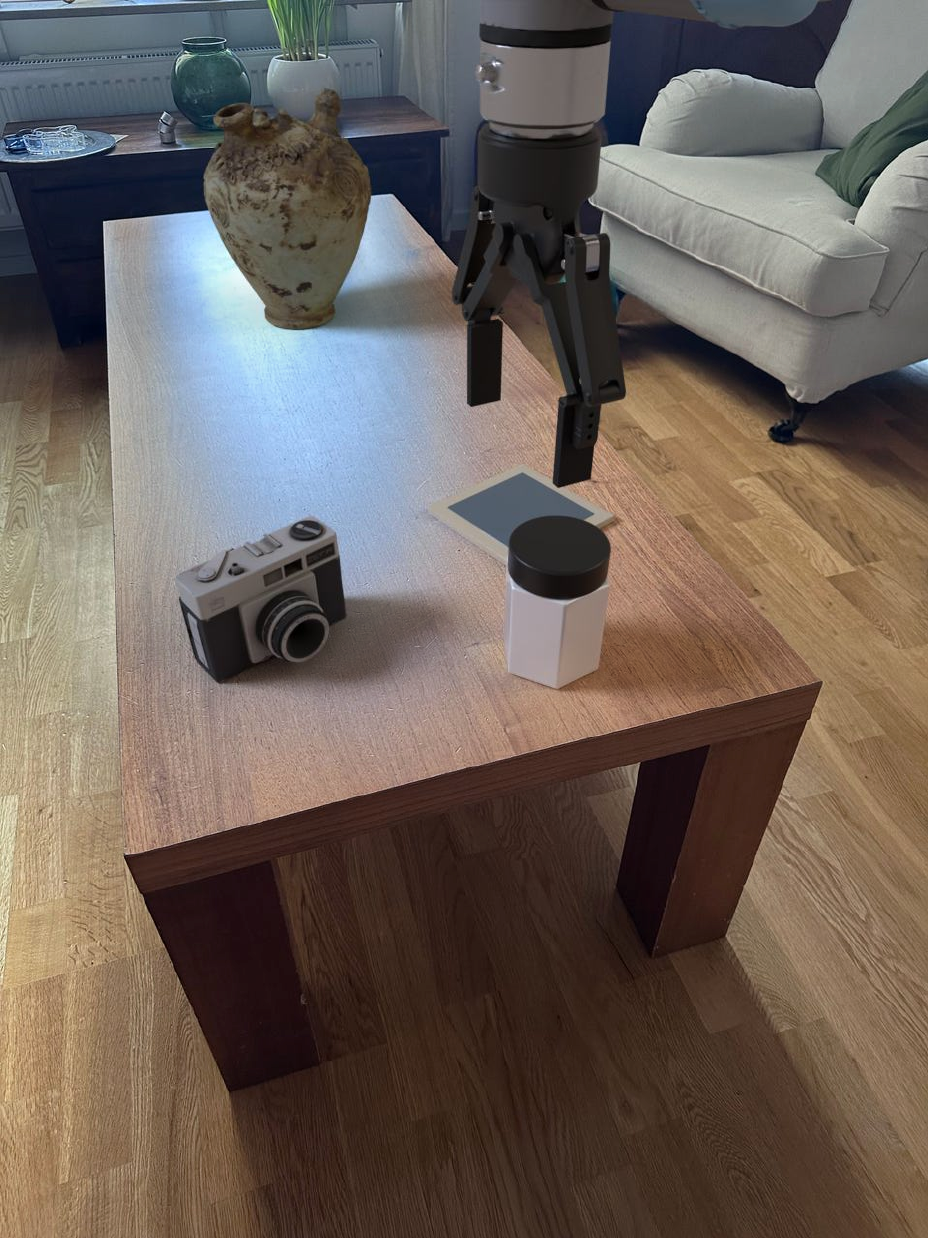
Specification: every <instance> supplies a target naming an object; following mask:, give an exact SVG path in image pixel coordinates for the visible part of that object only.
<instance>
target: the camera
mask: <svg viewBox="0 0 928 1238" xmlns="http://www.w3.org/2000/svg"><path fill="white" fill-rule="evenodd" d="M262 536H263V538H261V539H260V540H258V541H255V542H253V543H251V542H250V541H246V542H244V543H243V545H242V546H238V547H236V548H234V547H230V548H229V549H224V550H221V551H219V552H217V553H216V554H214V556H212V558H210V559H209V560H207V561H204V562H203V563H200V564H198V565H195V566H193V567H192V568H189V569H186V570H184V571H182V572H180V573H178V574H177V575H176V576H175V577H174V579H175V582H176V583H175V584H176V587H177V590H178V593H179V596H178V603H179V606H180V610H181V614H182V617H183V621H184V624H185V629H186V631H187V636H188V639H189V642H190V646H191V650H192V653H193V657H194V659H195V661H196V663H197V664H198V665H199V666H200V667H201V668H202V669H203V670H204V671H205V672H206V673H207V674H208V675H209V676H210V677H211V678H212V679H213V680H214V681H215V682H216V683H217V684H221V683H223V682H225V681H227V680H229V679H231V678H233V677H235V676H236V675H239V674H240V673H243V672H244V671H246V670H248V669H250V668H252V667H254V666H256V665H257V664H260V663H262V662H264V661H267V660H268V659H270V658H272V657H273V656H276V657H277V658H278V659H283V660H284V661H286V662H287V663H303V662H305V661H308V660H310V659H311V658H313V657H315V656H316V655H317V654H318V653H319V652H320V651H321V650H322V649H323V647H324V646H325V644H326V642H327V640H328V638H329V634H330V627H331V626H333V625H335V624H337V623H339V622H340V621H342V620H344V619H347V609H346V602H345V601H346V599H345V593H344V583H343V576H342V567H341V555H340V551H339V550H340V549H339V544H338V543H339V542H338V535H337V532H336V531H335V530H334V529H333V528H331V527H330V526H328V525H327V524H326V523H324V522H323V521H321V520H320V519H318V518H317V517H315V515H308V516H306V517H304V518H302V519H300V520H297V521H295V522H292V523H290V524H288V525H286V526H282V528H279V529H277V530H274V531H272V532H270V533H264V534H263V535H262Z"/></svg>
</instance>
